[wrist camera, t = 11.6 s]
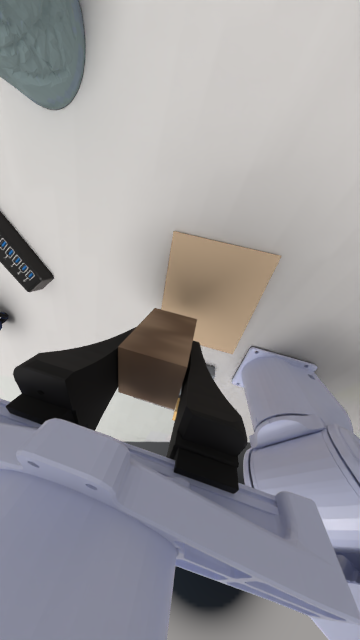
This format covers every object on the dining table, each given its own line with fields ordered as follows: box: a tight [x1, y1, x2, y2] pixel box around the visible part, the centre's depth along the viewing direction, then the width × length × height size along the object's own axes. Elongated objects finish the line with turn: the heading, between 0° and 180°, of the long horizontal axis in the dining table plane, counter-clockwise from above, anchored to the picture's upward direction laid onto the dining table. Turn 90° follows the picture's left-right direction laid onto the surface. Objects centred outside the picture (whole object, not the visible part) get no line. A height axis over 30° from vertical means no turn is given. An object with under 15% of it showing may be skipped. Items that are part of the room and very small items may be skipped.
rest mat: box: [161, 231, 281, 354], centre depth 19 cm, size 12×14×1 cm
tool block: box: [118, 308, 197, 410], centre depth 12 cm, size 4×4×6 cm
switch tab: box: [172, 398, 180, 421], centre depth 26 cm, size 3×3×2 cm
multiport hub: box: [0, 211, 54, 292], centre depth 21 cm, size 4×14×2 cm, turn 30°
